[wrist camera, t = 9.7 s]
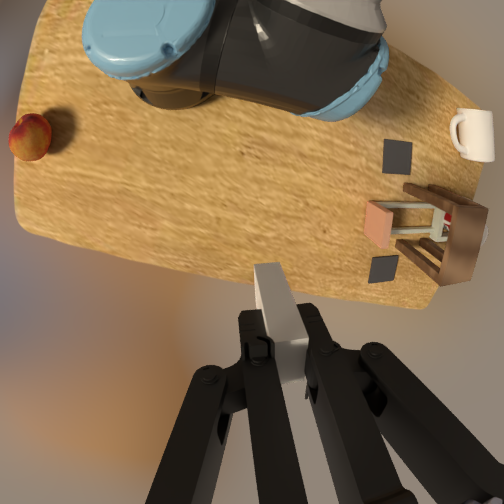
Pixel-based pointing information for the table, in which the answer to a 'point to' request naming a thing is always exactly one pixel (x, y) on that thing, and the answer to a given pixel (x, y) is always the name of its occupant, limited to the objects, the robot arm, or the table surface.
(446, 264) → the brown tall open frame
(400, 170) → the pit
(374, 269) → the dark grey flat tile
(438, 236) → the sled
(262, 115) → the table surface
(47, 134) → the fruit
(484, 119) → the mug
